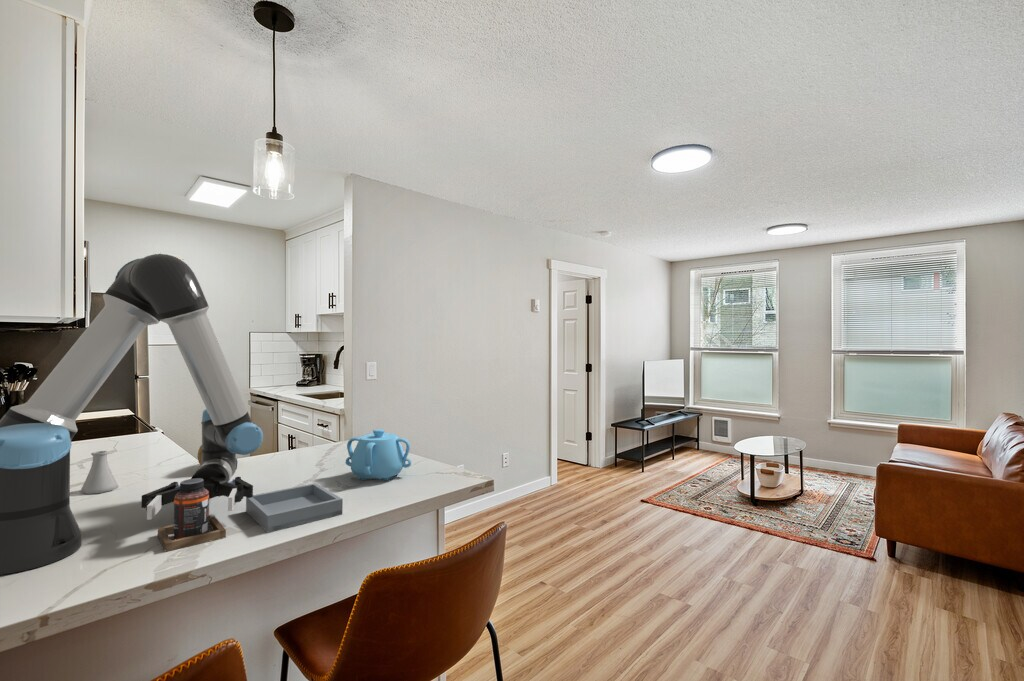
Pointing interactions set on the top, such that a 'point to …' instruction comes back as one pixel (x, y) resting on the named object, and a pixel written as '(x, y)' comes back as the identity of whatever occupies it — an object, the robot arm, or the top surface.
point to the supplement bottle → (191, 509)
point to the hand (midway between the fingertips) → (190, 508)
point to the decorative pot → (378, 455)
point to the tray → (293, 506)
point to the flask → (99, 475)
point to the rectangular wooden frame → (191, 540)
